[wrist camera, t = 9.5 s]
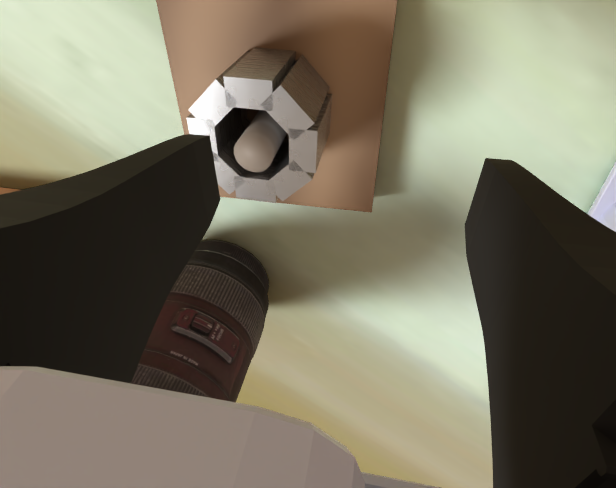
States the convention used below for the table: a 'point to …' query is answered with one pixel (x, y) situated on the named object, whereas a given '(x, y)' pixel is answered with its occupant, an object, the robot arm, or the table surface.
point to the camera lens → (208, 325)
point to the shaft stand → (304, 40)
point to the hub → (282, 108)
